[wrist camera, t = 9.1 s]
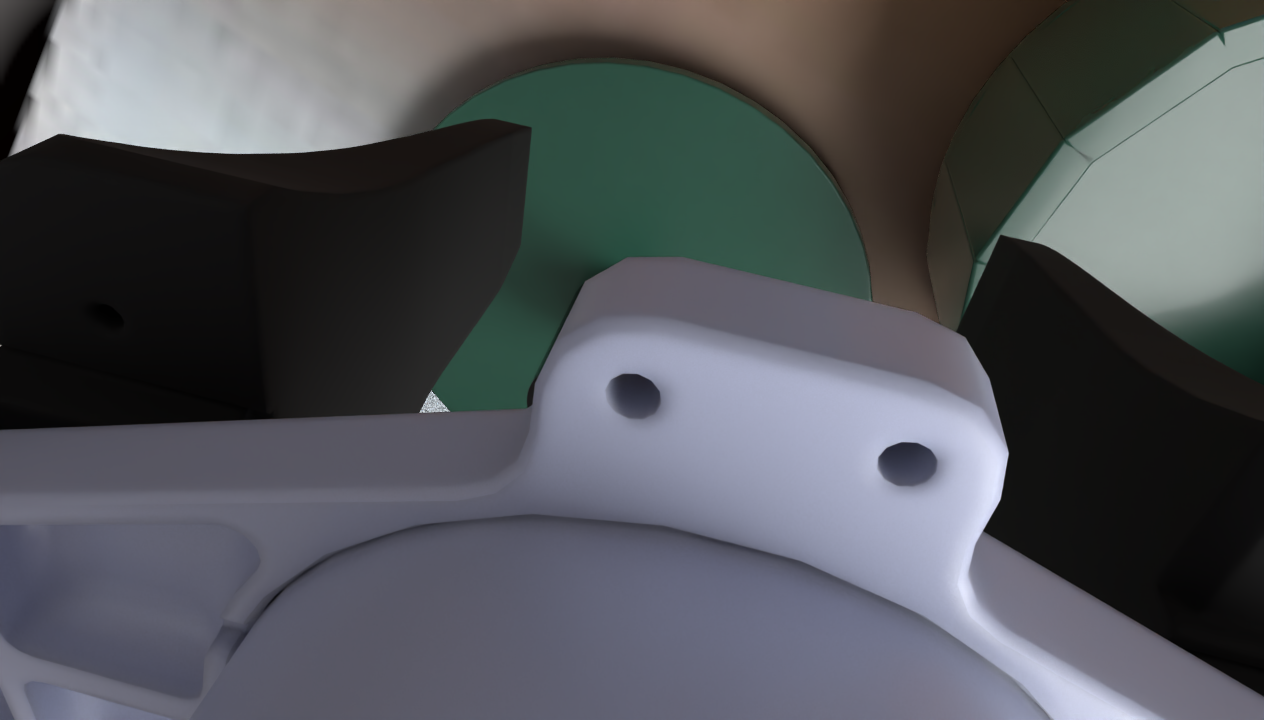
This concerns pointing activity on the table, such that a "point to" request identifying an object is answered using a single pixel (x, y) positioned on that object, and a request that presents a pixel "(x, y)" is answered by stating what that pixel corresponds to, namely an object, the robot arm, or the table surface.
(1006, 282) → the robot arm
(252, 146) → the table surface
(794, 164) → the lid
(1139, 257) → the pot
